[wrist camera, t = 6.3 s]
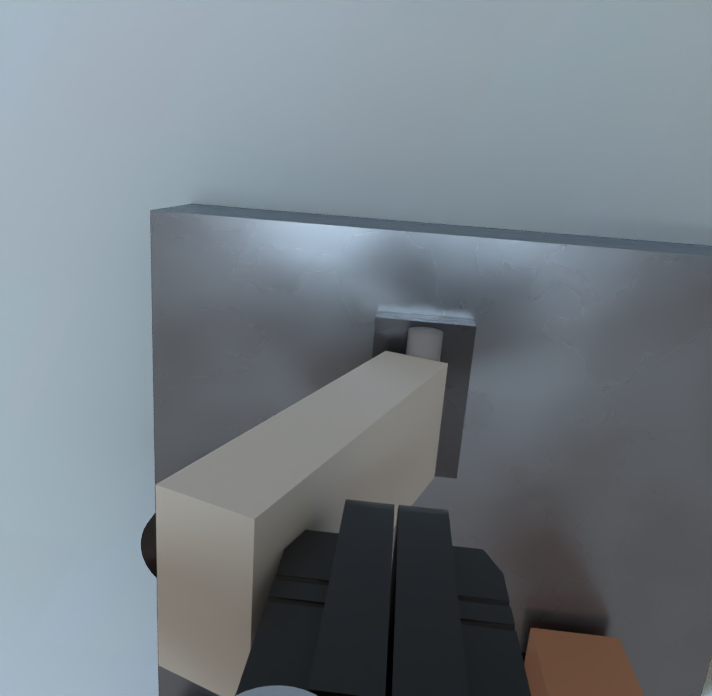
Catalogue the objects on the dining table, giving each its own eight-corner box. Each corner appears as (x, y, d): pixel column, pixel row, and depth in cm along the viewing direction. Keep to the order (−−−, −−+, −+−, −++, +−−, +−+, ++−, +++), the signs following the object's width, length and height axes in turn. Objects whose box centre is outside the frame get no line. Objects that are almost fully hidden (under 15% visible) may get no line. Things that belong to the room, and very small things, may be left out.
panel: (753, 249, 18) (865, 275, 13) (593, 894, 25) (633, 1049, 20) (190, 203, 19) (124, 214, 14) (190, 837, 25) (146, 973, 21)
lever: (461, 333, 15) (255, 480, 7) (443, 480, 16) (247, 739, 8) (401, 322, 15) (154, 448, 8) (388, 465, 16) (158, 694, 9)
